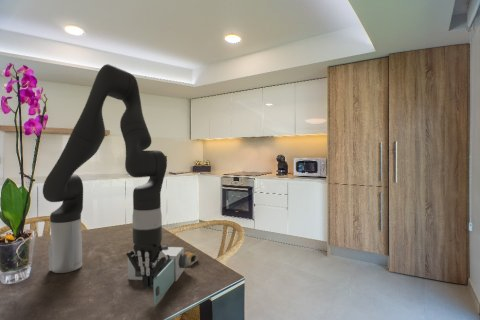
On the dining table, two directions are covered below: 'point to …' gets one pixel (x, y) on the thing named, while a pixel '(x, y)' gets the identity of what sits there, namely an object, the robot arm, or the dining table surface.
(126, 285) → the dining table surface
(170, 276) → the door
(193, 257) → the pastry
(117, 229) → the dining table surface
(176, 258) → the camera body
